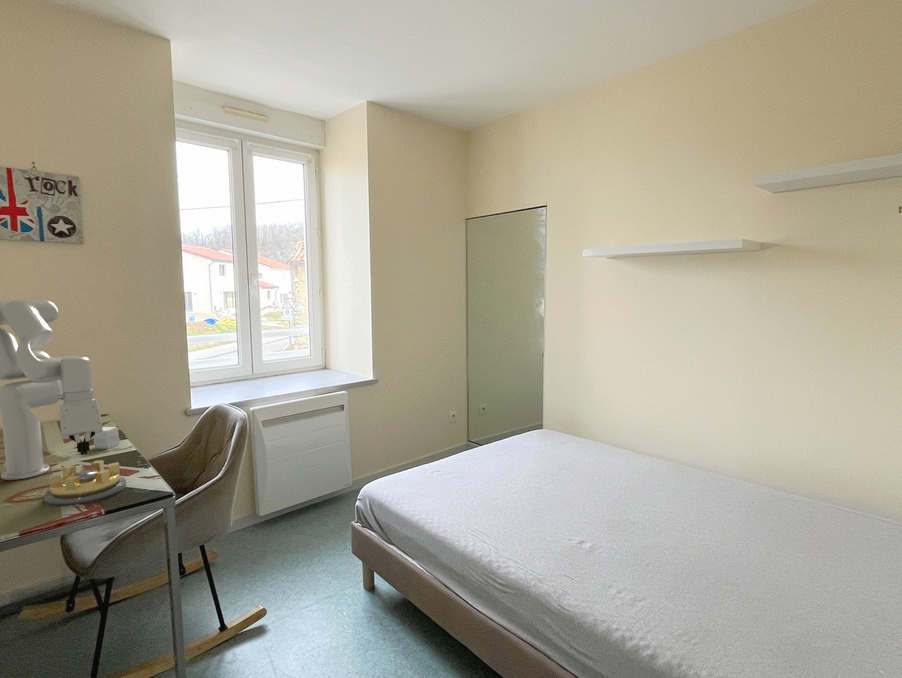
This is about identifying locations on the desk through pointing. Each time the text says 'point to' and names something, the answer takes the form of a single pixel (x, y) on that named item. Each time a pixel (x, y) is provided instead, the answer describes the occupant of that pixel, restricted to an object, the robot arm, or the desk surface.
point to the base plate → (85, 499)
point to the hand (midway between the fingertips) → (83, 453)
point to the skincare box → (107, 438)
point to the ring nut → (84, 480)
